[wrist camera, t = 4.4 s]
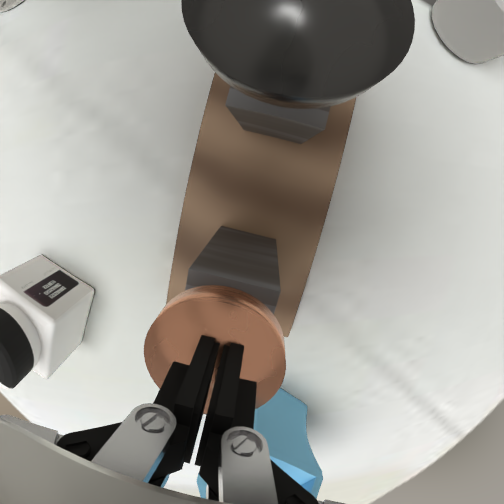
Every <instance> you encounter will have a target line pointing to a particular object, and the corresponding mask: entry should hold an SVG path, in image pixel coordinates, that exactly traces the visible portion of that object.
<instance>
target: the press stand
mask: <svg viewBox="0 0 504 504" xmlns="http://www.w3.org/2000/svg"><path fill="white" fill-rule="evenodd" d="M355 101H356V98H354V99H351V100H349V101H346V102H344V103H341V104H338V105H334V106H330V107H324V108H317V109H294V108H285V107H280V106H274V105H271V104H268V103H264V102H261V101H258V100H256V99H254V98H251V97H249V96H247V95H245V94H243V93H241V92H240V91H238V90H236V89H234V88H233V87H232V86H230V85H229V84H228V83H226V82H225V81H224V80H223V79H222V78H221V77H220V76H219V75H217V74H216V73H215V74H214V78H213V82H212V85H211V89H210V93H209V96H208V100H207V104H206V108H205V111H204V115H203V119H202V123H201V127H200V131H199V135H198V140H197V144H196V148H195V152H194V157H193V161H192V166H191V170H190V175H189V179H188V184H187V189H186V194H185V198H184V203H183V208H182V214H181V219H180V224H179V229H178V235H177V240H176V246H175V252H174V258H173V264H172V270H171V276H170V282H169V289H168V296H167V302H166V304H167V303H168V302H169V301H170V300H171V299H173V298H174V297H175V296H177V295H178V294H180V293H182V292H184V291H186V290H188V289H191V288H195V287H199V286H206V285H219V286H227V287H232V288H235V289H238V290H241V291H244V292H246V293H248V294H250V295H252V296H253V297H255V298H257V299H258V300H259V301H261V302H262V303H263V304H265V305H266V306H267V307H268V308H269V309H270V310H271V312H272V313H273V314H274V316H275V317H276V319H277V321H278V322H279V324H280V327H281V329H282V332H283V336H284V337H288V336H289V333H290V330H291V327H292V324H293V321H294V318H295V315H296V312H297V309H298V306H299V303H300V300H301V297H302V294H303V291H304V288H305V285H306V281H307V278H308V275H309V272H310V269H311V265H312V262H313V259H314V256H315V252H316V249H317V246H318V242H319V239H320V236H321V232H322V229H323V225H324V222H325V218H326V215H327V211H328V208H329V204H330V201H331V197H332V193H333V190H334V186H335V182H336V178H337V175H338V171H339V167H340V163H341V159H342V155H343V151H344V147H345V143H346V139H347V135H348V131H349V127H350V122H351V118H352V114H353V110H354V105H355Z"/></svg>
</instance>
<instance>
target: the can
mask: <svg viewBox="0 0 504 504" xmlns="http://www.w3.org/2000/svg"><path fill="white" fill-rule="evenodd" d="M432 20H433V24H434V27H435V29H436V31H437V33H438V35H439V37H440V38H441V40H442V41H443V42H444V43H445V45H446V46H447V47H448V48H449V49H450V50H451V51H452V52H453V53H454V54H455V55H457V56H458V57H460V58H461V59H463V60H465V61H467V62H470V63H474V64H479V63H484V62H486V61H489V60H492V59H494V58H497V57H500V56H503V55H504V0H437V1H436V2H435V4H434V6H433V7H432Z"/></svg>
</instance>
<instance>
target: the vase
mask: <svg viewBox="0 0 504 504" xmlns="http://www.w3.org/2000/svg"><path fill="white" fill-rule="evenodd" d="M306 416H307V406H306V405H305V404H304V403H303V402H301V401H300V400H298V399H297V398H295V397H293V396H292V395H290V394H289V393H287V392H286V391H284V390H283V389H281V388H279V390H278V391H277V393H276V394H275V395H274V396H273V397H272V398H271V399H270V400H269V401H268V402H267V403H265V404H264V405H262V406H261V407H259V408H257V409H255V416H254V430H256V431H258V432H259V433H260V434H262V435H263V437H264V438H265V439H266V441H267V444H268V449H269V455H270V459H271V460H272V461H273V462H274V463H275V464H277V465H278V466H279V467H280V468H281V469H282V470H283V471H284V472H286V473H287V474H288V475H289V476H290V477H291V478H293V479H294V480H295V481H296V482H297V483H299V484H300V485H301V486H302V487H303V488H305V489H306V490H307V491H308V492H310V493H311V494H312V495H313V496H314V497H315V498H317V495H318V492H319V489H320V486H321V483H322V480H323V476H322V471H321V469H320V467H319V465H318V463H317V461H316V459H315V457H314V455H313V453H312V450H311V448H310V445H309V442H308V439H307V432H306ZM197 484H198V488H199V492H200V496H201V498H204V499H206V486H207V483H206V482H205V481H204V480H203V479H202V478H201V476H200V475H199V473H198V478H197Z"/></svg>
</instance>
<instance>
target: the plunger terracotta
mask: <svg viewBox="0 0 504 504" xmlns="http://www.w3.org/2000/svg"><path fill="white" fill-rule="evenodd" d="M201 335H204V336H208V337H212V338H215V342H216V343H220V345H219V349H218V354H217V358H216V362H215V366H214V371H213V375H212V379H211V384H210V388H209V392H208V396H207V400H206V404H205V408H204V412H203V414H207V411H208V407H209V403H210V399H211V395H212V391H213V387H214V383H215V379H216V376H217V372H218V368H219V364H220V360H221V356H222V352H223V348H224V345H228V346H230V343H236V344H240V345H244V352H243V359H242V366H241V372H240V378H241V379H246V380H250V381H255V382H257V390H256V403H255V409H257V408H259V407H261V406H262V405H264V404H265V403H267V402H268V401H269V400H270V399H271V398H272V397H273V396H274V395H275V394H276V393H277V391H278V390H279V388H280V386H281V384H282V382H283V379H284V376H285V370H286V360H285V346H284V337H283V332H282V329H281V327H280V324H279V322H278V321H277V319H276V317H275V316H274V314H273V313H272V312H271V310H270V309H269V308H268V307H267V306H266V305H265V304H263V303H262V302H261V301H259V300H258V299H257V298H255V297H253V296H252V295H250V294H248V293H246V292H244V291H241V290H238V289H235V288H232V287H227V286H219V285H206V286H199V287H195V288H191V289H188V290H186V291H184V292H182V293H180V294H178V295H177V296H175V297H174V298H173V299H171V300H170V301H169V302H168V303H167V304H166V306H165V307H164V308H163V310H162V311H161V312H160V314H159V315H158V317H157V318H156V320H155V321H154V323H153V324H152V325H151V327H150V329H149V331H148V333H147V336H146V339H145V344H144V357H145V363H146V366H147V369H148V371H149V373H150V376H151V377H152V379H153V380H154V382H155V383H156V385H157V386H158V387H159V388H161V386H162V384H163V382H164V380H165V378H166V375H167V373H168V371H169V369H170V367H171V365H172V363H173V362H174V361H176V362H179V363H183V364H186V365H190V363H191V360H192V358H193V355H194V353H195V350H196V348H197V345H198V343H199V340H200V337H201Z"/></svg>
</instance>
